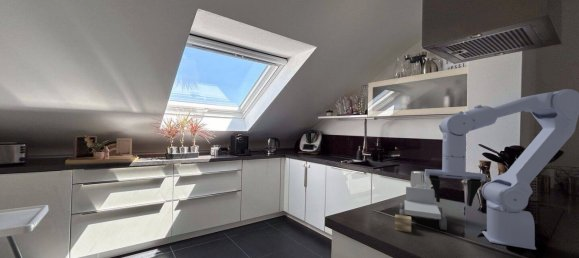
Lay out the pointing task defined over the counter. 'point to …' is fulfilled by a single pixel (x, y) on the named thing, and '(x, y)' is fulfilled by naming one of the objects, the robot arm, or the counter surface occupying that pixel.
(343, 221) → the counter surface
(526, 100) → the robot arm
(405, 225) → the block
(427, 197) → the trolley
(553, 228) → the counter surface
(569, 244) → the counter surface
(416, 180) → the beer glass
